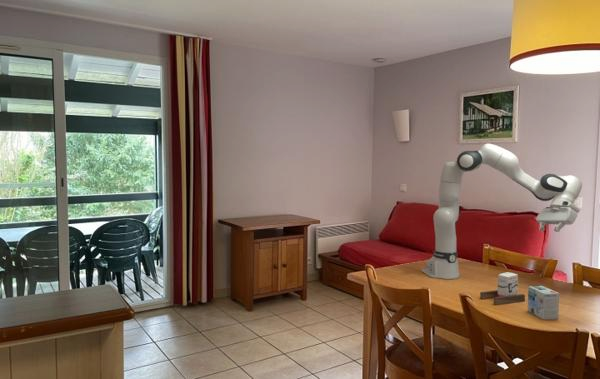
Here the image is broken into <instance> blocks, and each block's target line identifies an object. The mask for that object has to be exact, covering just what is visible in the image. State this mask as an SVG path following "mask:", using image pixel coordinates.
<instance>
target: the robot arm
mask: <svg viewBox="0 0 600 379" xmlns="http://www.w3.org/2000/svg"><path fill="white" fill-rule="evenodd" d="M482 165H487V166H489V167H491V168H493V169H495V170H497V171H499V172H500V173H502V174H503V175H505V176H506V177H508V178H509V179H511V180H512V181H514V182H515V183H517V184H518V185H519V186H522V187H523V188H525V189H527V190H528V191H529V192H531V194H532V195H533V196H534V197H535V198H536V199H537V200H539V201H541V202H548V201H551V203H550V205H549V206H545V207H544V208H543V209H542V210H540V211H539V213H538V215H537V216H536V218H535V221H536V222H537V224H538V223H539V228H538V229H539V230H538V231H539V232H544V231H545V230H546V228H545V227H546V225H557V226H555V227H554V229H553V231H554V232H556V233H560V231H561V230H562V228H564V227H565V226H566V225H567V226H570V225H572V224H574V223H575V222H576V220H577V217H578V214H579V213H580V212H581V208H580V207H578V206H576V205H575V202H576V200H577V199H578V197H579V195H580V193H581V190H582V187H583V182H582V180H581V179H580V178H578V177H577V176H575V175H573V174H569V175H558V174H555V173H546V174H544V175H542V176H541V177H540V179H539V180H537V179H536V178H534V177H533V176H531V175H529V174H528V173H526V172H524V171H523V168H521V166H520V161H519V159H518V156H517V155H515V154H514V153H513V152H511V151H510V150H508V149H505V148H504V147H501V146H499V145H496V144H493V143H485V144H483V145H482V146H481V147H480V148H479V149H478V150H464V151H462V152H461V153H459V154H458V156H457V158H456V161H455V160H454V161H447V162H445V163H444V164H443V166H442V170H441V174H440V179H439V189H438V209H436V210H435V212H434V213H433V218H432V219H433V226H434V227H433V228H434V235H435V250H433V251H432V253H433V255H432V257H431V258H429V259H427V261H425V267H424V268H422V269H421V272H422V273H423V272H424V274H425V275H427V276H428V277H430V278H434V279H445V280H446V279H447V280H453V279H459V278H460V275H461V273H460V270H459V261H458V259H457V258H458V251H457V234H456V231H457V230H456V222H457V221H458V219H459V214H460V196H461V189H462V188H461V186H462V180H463V175H464V173H465V172H474V171H475V170H477V169H478V168H480V166H482Z"/></svg>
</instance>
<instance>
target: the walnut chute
mask: <svg viewBox="0 0 600 379" xmlns="http://www.w3.org/2000/svg"><path fill="white" fill-rule="evenodd" d="M479 296H480V297H479V299H480V300H488V299H489V300H490V299H493V305H495V306H499V305H501V306H502V305H507V304H513V303H515V304H516V303H522V302H525V301H526V294H524V293H517V295H510V296H502V297H498V289H494V290H487V291H486V290H485V291H480V294H479Z"/></svg>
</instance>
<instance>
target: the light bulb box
mask: <svg viewBox="0 0 600 379" xmlns="http://www.w3.org/2000/svg"><path fill="white" fill-rule="evenodd" d="M527 290H528V291H527V312H529V313H531V314H533V315H535V316H536V317H538V318H539V319H542V320H546V321H547V320H559V312H560V311H559V310H560V309H559V308H560V293H559V292H558V291H555V290H552V289H551V288H548V287H546V286H544V285H536V286H535V285H532V286H528V289H527Z"/></svg>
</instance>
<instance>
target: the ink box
mask: <svg viewBox="0 0 600 379" xmlns="http://www.w3.org/2000/svg"><path fill="white" fill-rule="evenodd" d="M518 282H519V274H518V273H514V272H510V271H507V272H503V273H499V274H497V290H498V297H502V296H510V295H518V284H519V283H518Z"/></svg>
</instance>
